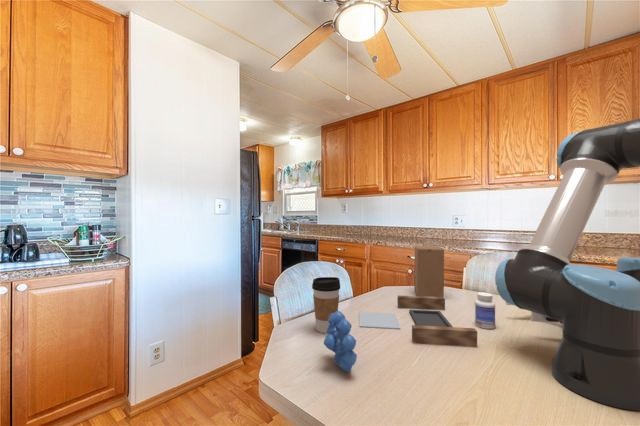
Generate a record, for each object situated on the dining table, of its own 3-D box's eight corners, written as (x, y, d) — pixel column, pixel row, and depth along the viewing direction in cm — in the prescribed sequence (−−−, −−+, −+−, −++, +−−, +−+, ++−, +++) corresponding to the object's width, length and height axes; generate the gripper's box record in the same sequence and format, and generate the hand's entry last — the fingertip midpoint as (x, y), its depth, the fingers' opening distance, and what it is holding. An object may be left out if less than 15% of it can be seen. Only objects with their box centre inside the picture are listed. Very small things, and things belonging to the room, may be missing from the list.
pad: (394, 314, 97) (394, 313, 97) (400, 329, 85) (400, 328, 85) (359, 312, 98) (359, 311, 98) (359, 327, 86) (359, 326, 86)
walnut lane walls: (443, 308, 103) (443, 297, 103) (477, 346, 74) (477, 331, 74) (397, 306, 105) (397, 295, 105) (413, 343, 76) (413, 328, 76)
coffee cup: (336, 337, 80) (336, 283, 79) (307, 332, 82) (307, 280, 82) (343, 325, 88) (343, 276, 87) (317, 321, 90) (317, 274, 90)
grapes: (313, 357, 69) (313, 307, 69) (339, 351, 71) (339, 303, 71) (334, 384, 58) (334, 325, 58) (363, 377, 61) (363, 320, 61)
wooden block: (443, 300, 112) (444, 249, 112) (417, 298, 114) (417, 248, 114) (438, 292, 122) (439, 245, 122) (414, 291, 124) (414, 245, 124)
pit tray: (439, 314, 97) (439, 310, 97) (456, 335, 81) (456, 330, 81) (409, 313, 98) (409, 309, 98) (419, 333, 82) (419, 329, 82)
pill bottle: (498, 330, 85) (498, 297, 84) (478, 328, 85) (479, 296, 85) (490, 322, 90) (490, 291, 90) (472, 321, 91) (472, 291, 91)
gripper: (637, 343, 71) (544, 338, 74) (565, 308, 96) (497, 306, 99) (638, 313, 71) (545, 309, 74) (565, 286, 96) (497, 284, 99)
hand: (517, 307), depth 86 cm, fingers open, 13 cm apart
